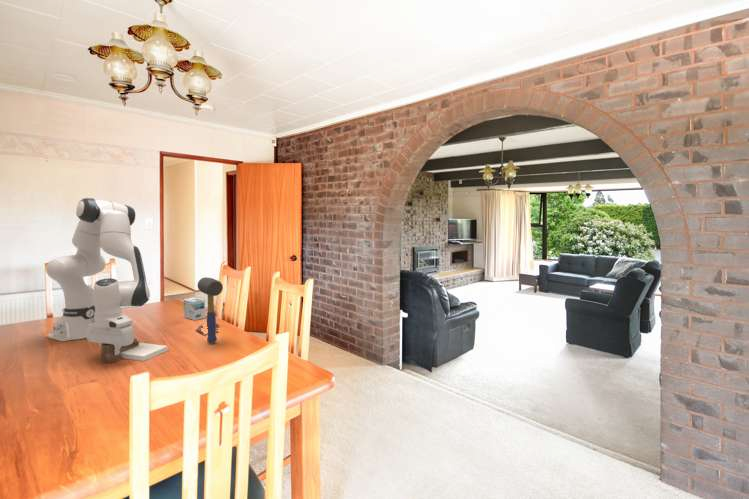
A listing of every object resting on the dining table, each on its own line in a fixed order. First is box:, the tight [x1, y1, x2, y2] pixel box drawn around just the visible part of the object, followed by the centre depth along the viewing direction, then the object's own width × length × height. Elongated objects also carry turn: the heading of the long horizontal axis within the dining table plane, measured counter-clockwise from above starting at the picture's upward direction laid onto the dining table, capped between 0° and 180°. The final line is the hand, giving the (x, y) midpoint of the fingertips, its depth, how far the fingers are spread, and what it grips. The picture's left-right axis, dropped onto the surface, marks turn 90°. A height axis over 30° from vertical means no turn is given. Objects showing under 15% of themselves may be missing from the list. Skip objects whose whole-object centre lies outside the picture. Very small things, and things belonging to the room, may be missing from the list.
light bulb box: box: [183, 297, 207, 321], centre depth 210 cm, size 11×7×11 cm, turn 58°
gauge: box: [100, 338, 140, 364], centre depth 154 cm, size 4×14×7 cm, turn 165°
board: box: [120, 342, 169, 362], centre depth 158 cm, size 22×12×2 cm, turn 75°
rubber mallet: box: [197, 276, 224, 345], centre depth 168 cm, size 12×8×30 cm, turn 46°
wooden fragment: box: [195, 323, 220, 337], centre depth 192 cm, size 26×11×1 cm, turn 21°
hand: (111, 353), depth 149 cm, fingers closed on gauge, 4 cm apart
